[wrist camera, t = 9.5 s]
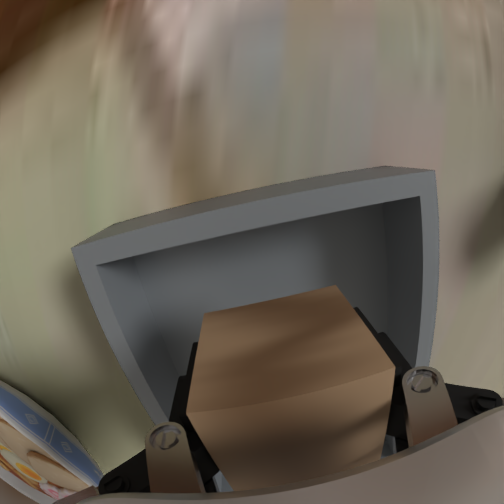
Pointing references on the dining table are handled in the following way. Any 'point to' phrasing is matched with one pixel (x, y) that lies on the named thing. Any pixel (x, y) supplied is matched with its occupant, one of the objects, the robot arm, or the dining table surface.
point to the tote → (265, 267)
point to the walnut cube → (290, 390)
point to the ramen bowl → (40, 451)
